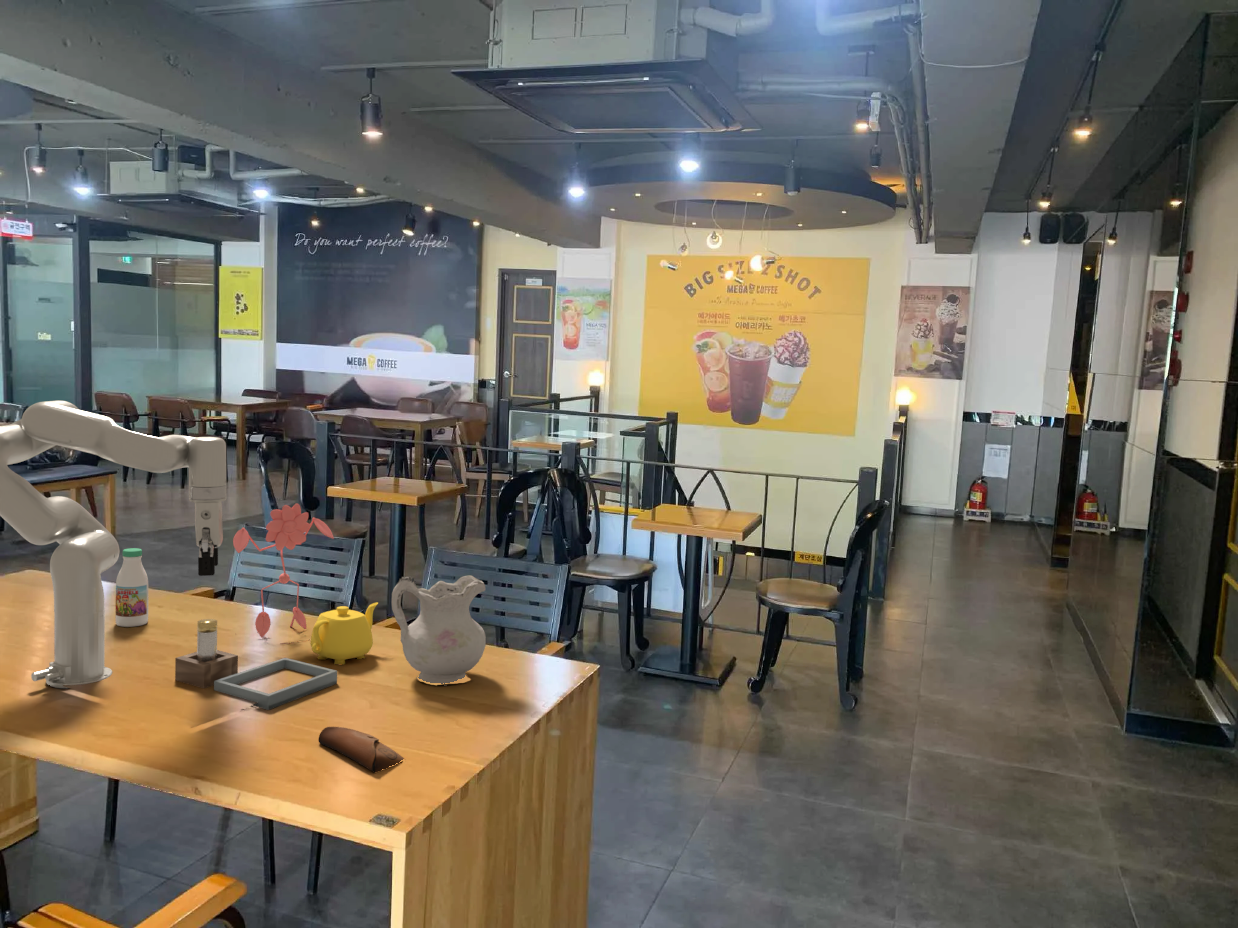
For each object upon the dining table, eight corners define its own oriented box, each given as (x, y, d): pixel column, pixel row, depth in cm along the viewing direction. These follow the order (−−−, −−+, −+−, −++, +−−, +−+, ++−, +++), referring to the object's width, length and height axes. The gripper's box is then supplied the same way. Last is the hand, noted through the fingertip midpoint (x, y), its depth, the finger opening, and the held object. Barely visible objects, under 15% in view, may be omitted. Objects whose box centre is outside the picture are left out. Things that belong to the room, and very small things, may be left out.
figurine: (224, 636, 242) (228, 502, 238) (317, 621, 261) (322, 497, 257) (250, 652, 232) (255, 513, 228) (345, 635, 250) (351, 506, 246)
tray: (268, 709, 195) (268, 695, 195) (213, 694, 202) (214, 680, 202) (336, 683, 213) (337, 670, 213) (284, 669, 220) (285, 657, 219)
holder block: (203, 692, 203) (204, 665, 202) (175, 684, 206) (175, 657, 206) (237, 681, 211) (237, 655, 210) (209, 673, 215) (209, 647, 214)
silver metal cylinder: (205, 682, 206) (206, 624, 204) (192, 679, 208) (193, 621, 206) (220, 677, 209) (221, 620, 208) (207, 674, 211) (208, 617, 210)
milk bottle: (118, 619, 252) (119, 546, 250) (150, 619, 254) (151, 546, 252) (112, 627, 244) (112, 552, 242) (145, 627, 247) (145, 552, 245)
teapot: (294, 659, 228) (295, 608, 227) (358, 642, 244) (360, 594, 243) (331, 672, 220) (333, 619, 219) (395, 653, 237) (397, 604, 236)
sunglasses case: (411, 760, 174) (397, 735, 171) (383, 789, 170) (368, 764, 167) (355, 732, 186) (341, 708, 183) (327, 758, 182) (312, 734, 179)
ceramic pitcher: (406, 702, 207) (414, 594, 203) (377, 669, 223) (383, 568, 219) (495, 688, 219) (504, 586, 215) (461, 658, 235) (469, 562, 231)
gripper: (223, 499, 199) (224, 578, 200) (228, 488, 215) (229, 561, 217) (184, 499, 196) (185, 579, 198) (192, 488, 212) (193, 562, 214)
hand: (208, 570), depth 207 cm, fingers open, 9 cm apart
